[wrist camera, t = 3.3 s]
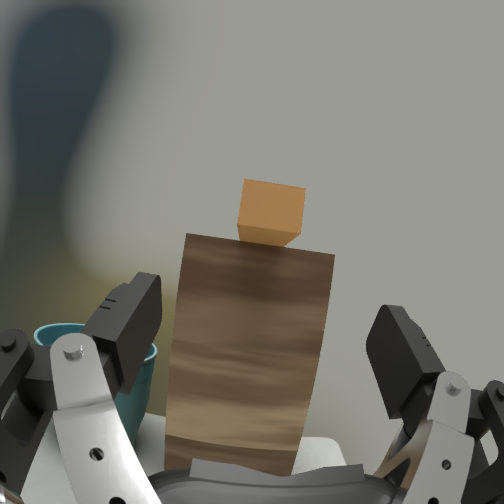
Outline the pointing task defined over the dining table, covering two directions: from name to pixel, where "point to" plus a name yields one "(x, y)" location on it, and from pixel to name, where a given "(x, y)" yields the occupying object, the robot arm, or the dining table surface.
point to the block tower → (244, 352)
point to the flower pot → (127, 405)
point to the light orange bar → (270, 213)
